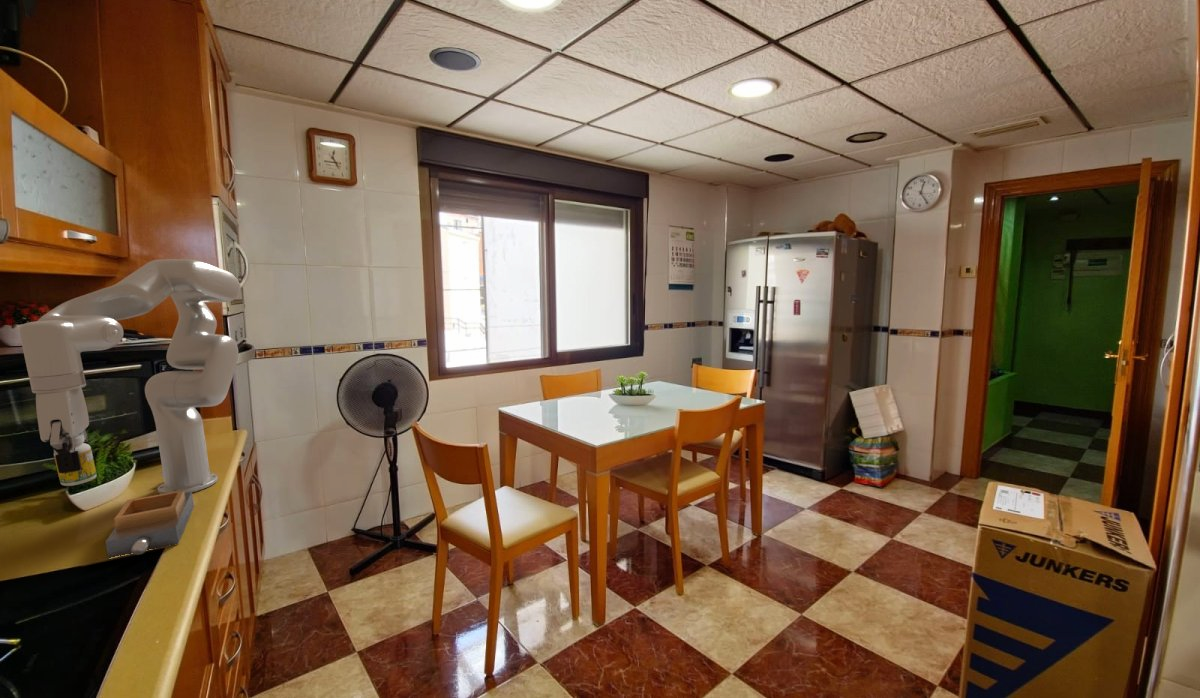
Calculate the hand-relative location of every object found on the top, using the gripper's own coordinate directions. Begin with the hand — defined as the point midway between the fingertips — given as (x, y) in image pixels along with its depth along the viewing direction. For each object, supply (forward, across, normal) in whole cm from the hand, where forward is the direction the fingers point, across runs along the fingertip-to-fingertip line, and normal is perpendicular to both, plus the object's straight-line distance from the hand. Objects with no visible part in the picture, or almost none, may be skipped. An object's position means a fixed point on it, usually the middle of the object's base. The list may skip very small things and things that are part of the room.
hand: (75, 465), depth 105 cm
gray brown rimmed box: (+18, +2, +11) cm, 21 cm away
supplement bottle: (+4, 0, 0) cm, 4 cm away
